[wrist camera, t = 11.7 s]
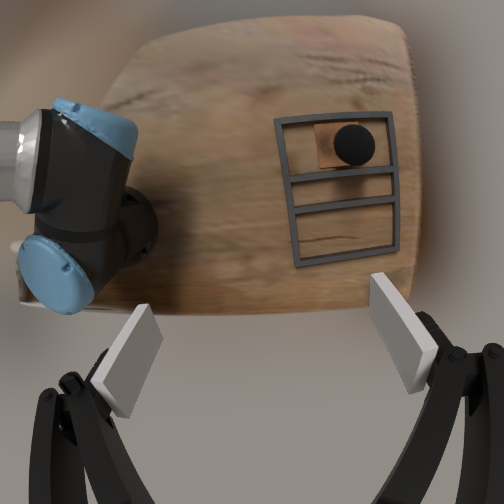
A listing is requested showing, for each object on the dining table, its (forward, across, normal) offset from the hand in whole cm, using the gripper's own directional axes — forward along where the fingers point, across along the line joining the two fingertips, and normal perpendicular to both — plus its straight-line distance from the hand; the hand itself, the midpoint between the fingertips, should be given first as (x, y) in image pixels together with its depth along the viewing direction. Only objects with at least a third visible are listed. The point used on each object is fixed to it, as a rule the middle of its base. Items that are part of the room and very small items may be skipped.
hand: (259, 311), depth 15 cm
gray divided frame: (+32, +14, 0) cm, 35 cm away
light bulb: (+32, +14, +7) cm, 36 cm away
